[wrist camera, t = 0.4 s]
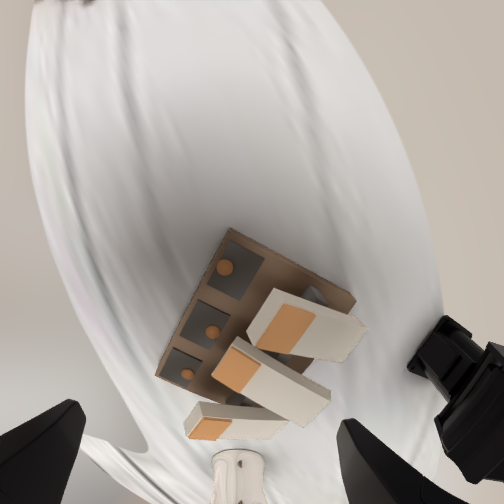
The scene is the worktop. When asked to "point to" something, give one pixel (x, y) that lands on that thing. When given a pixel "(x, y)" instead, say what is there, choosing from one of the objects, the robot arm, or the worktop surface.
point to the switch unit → (238, 314)
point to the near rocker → (304, 328)
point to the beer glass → (238, 478)
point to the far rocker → (232, 422)
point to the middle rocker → (271, 383)
